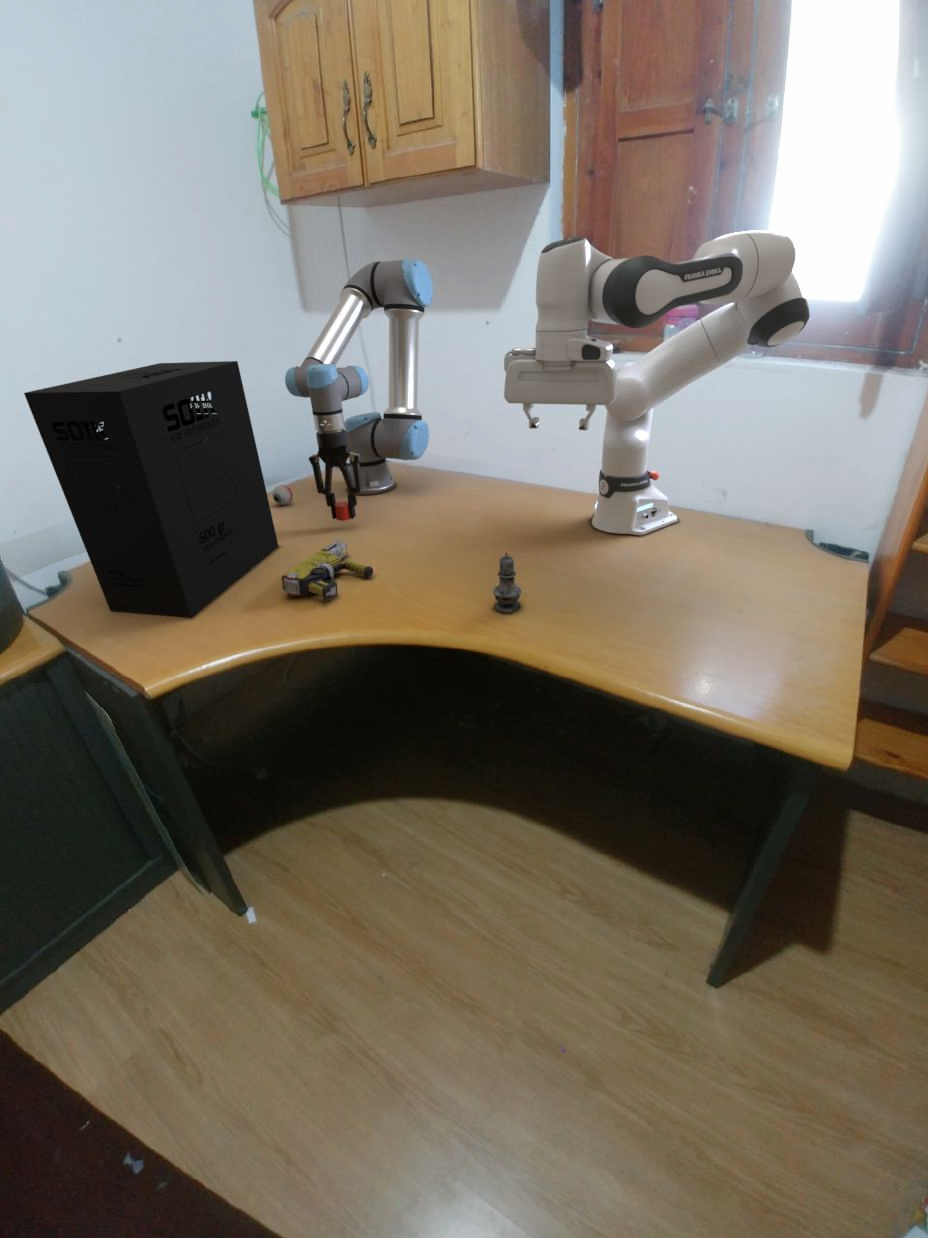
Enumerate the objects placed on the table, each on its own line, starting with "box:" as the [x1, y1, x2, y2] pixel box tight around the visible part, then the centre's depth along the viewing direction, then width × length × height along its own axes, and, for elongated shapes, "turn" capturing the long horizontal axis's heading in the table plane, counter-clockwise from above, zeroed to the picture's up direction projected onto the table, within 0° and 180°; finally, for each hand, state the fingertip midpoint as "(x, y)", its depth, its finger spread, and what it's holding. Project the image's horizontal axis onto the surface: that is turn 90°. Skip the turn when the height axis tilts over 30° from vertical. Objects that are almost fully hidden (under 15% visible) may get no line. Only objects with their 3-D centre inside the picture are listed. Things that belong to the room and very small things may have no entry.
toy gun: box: [281, 539, 374, 603], centre depth 138 cm, size 5×24×15 cm
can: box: [334, 500, 352, 522], centre depth 164 cm, size 4×4×4 cm
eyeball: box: [271, 484, 294, 506], centre depth 185 cm, size 6×6×6 cm
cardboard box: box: [23, 360, 279, 618], centre depth 133 cm, size 38×20×45 cm, turn 167°
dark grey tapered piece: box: [492, 552, 523, 613], centre depth 120 cm, size 6×6×12 cm
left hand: (344, 516), depth 165 cm, fingers closed on can, 4 cm apart
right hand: (558, 428), depth 112 cm, fingers open, 8 cm apart
